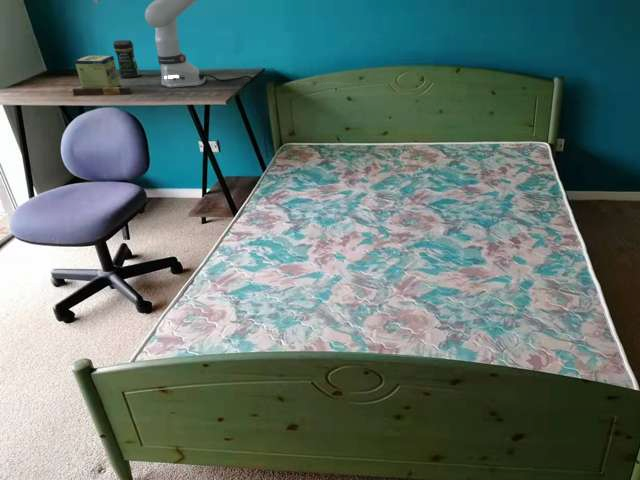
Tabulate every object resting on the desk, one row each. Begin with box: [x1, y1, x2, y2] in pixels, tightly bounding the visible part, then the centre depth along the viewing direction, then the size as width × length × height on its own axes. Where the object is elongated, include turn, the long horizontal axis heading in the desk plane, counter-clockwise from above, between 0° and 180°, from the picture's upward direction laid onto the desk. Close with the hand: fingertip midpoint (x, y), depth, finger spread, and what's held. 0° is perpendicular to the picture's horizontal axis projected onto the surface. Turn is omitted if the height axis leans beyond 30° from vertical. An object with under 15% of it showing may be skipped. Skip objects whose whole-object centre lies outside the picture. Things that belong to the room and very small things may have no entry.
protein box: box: [74, 55, 122, 88], centre depth 298 cm, size 10×16×16 cm
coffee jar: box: [113, 39, 141, 79], centre depth 318 cm, size 10×8×19 cm
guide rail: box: [72, 86, 132, 96], centre depth 295 cm, size 28×2×3 cm, turn 89°
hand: (101, 1), depth 288 cm, fingers open, 8 cm apart
